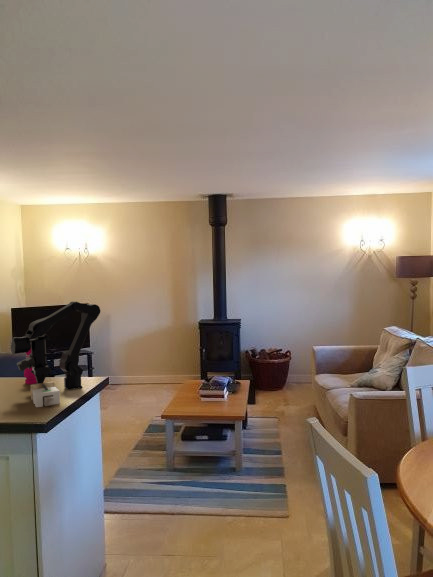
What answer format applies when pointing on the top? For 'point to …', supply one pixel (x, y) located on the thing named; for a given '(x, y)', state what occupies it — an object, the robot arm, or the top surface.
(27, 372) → the pepper mill
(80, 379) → the robot arm
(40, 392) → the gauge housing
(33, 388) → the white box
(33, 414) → the top surface
